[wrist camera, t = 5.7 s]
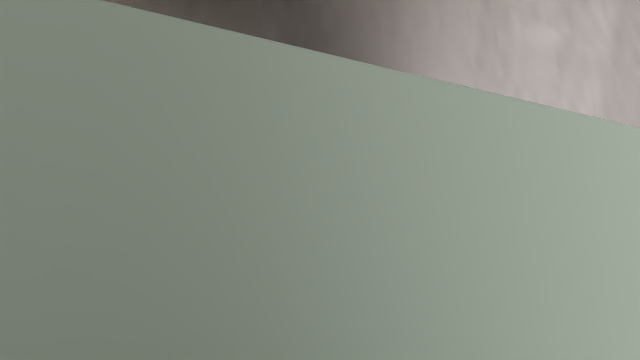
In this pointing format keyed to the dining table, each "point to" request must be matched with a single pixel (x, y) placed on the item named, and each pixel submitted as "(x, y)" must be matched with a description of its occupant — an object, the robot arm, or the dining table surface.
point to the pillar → (295, 204)
